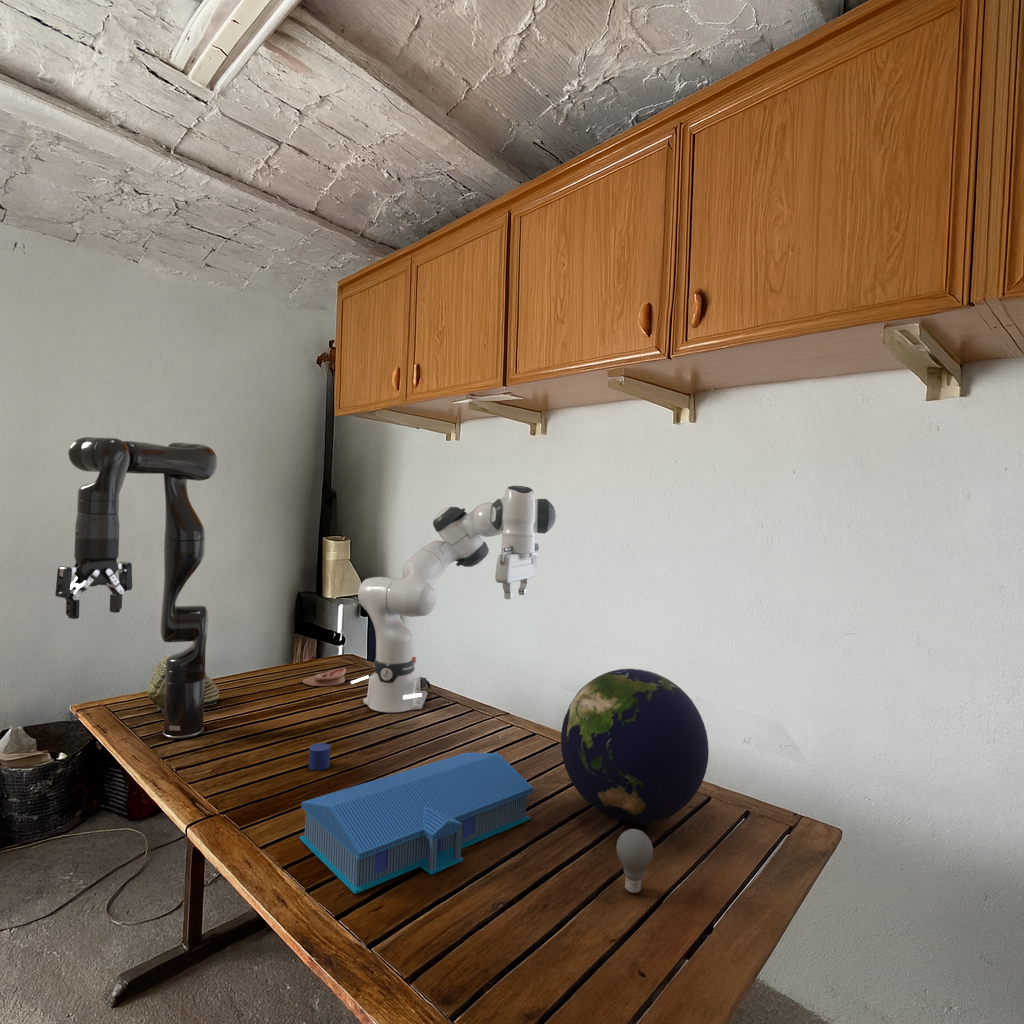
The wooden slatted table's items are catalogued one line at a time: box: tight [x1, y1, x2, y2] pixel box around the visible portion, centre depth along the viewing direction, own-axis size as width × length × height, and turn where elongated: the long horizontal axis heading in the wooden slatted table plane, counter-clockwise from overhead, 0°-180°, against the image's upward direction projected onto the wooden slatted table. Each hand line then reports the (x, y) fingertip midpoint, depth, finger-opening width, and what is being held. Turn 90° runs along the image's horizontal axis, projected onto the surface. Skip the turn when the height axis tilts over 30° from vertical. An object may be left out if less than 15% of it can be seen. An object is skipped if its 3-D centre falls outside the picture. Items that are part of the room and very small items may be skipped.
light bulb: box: [615, 828, 654, 894], centre depth 106 cm, size 6×6×10 cm
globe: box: [560, 668, 710, 824], centre depth 131 cm, size 30×30×30 cm
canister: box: [308, 742, 331, 771], centre depth 149 cm, size 5×5×5 cm
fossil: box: [147, 654, 221, 712], centre depth 185 cm, size 9×18×15 cm, turn 132°
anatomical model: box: [301, 667, 347, 687], centre depth 214 cm, size 13×4×12 cm
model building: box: [299, 752, 534, 895], centre depth 121 cm, size 39×24×10 cm, turn 132°
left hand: (94, 615), depth 129 cm, fingers open, 8 cm apart
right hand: (515, 596), depth 171 cm, fingers open, 8 cm apart
